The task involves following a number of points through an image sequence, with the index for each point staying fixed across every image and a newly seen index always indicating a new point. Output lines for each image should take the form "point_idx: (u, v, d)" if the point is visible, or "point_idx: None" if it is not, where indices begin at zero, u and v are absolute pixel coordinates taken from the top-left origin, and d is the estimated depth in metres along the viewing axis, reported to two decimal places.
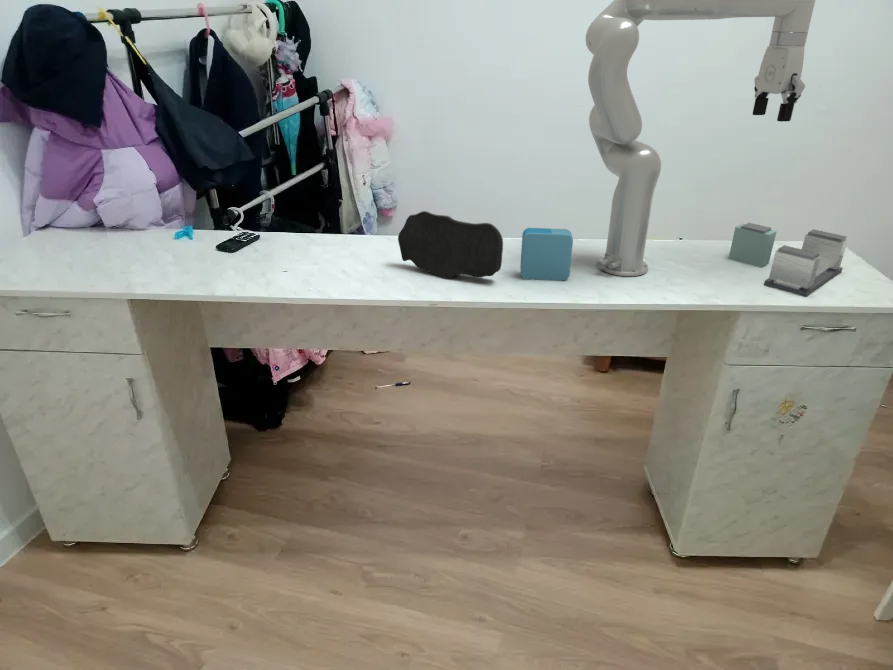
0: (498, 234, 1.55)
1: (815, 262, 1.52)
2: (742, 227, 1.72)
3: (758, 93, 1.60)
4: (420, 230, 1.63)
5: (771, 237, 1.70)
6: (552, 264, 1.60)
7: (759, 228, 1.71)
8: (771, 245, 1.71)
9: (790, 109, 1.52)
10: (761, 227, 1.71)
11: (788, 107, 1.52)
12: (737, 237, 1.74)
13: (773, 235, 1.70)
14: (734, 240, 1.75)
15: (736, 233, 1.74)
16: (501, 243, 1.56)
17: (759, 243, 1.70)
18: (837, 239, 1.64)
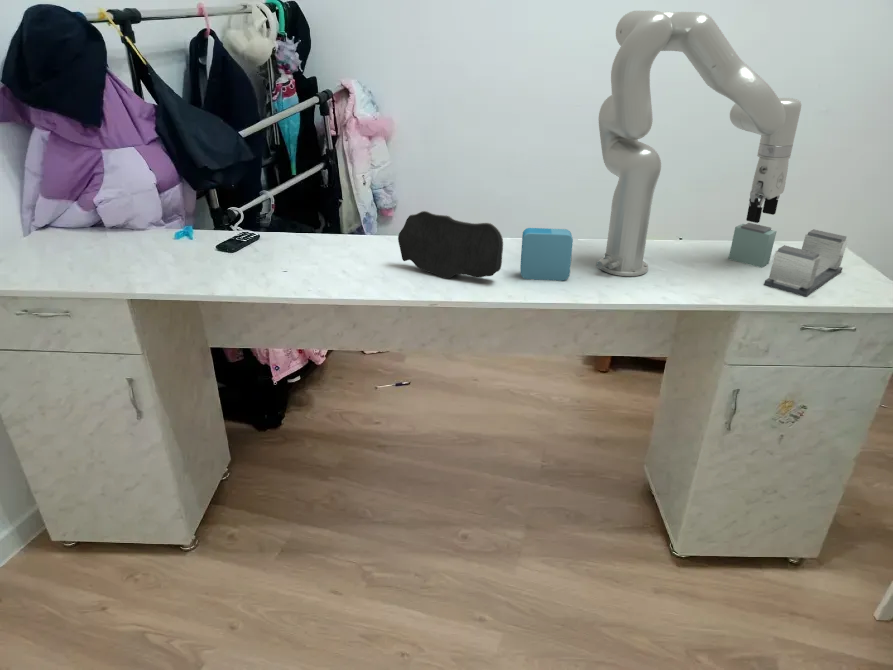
0: (498, 234, 1.55)
1: (815, 262, 1.52)
2: (742, 227, 1.72)
3: (762, 203, 1.65)
4: (420, 230, 1.63)
5: (771, 237, 1.70)
6: (552, 264, 1.60)
7: (759, 228, 1.71)
8: (771, 245, 1.71)
9: None
10: (761, 227, 1.71)
11: None
12: (737, 237, 1.74)
13: (773, 235, 1.70)
14: (734, 240, 1.75)
15: (736, 233, 1.74)
16: (501, 243, 1.56)
17: (759, 243, 1.70)
18: (837, 239, 1.64)
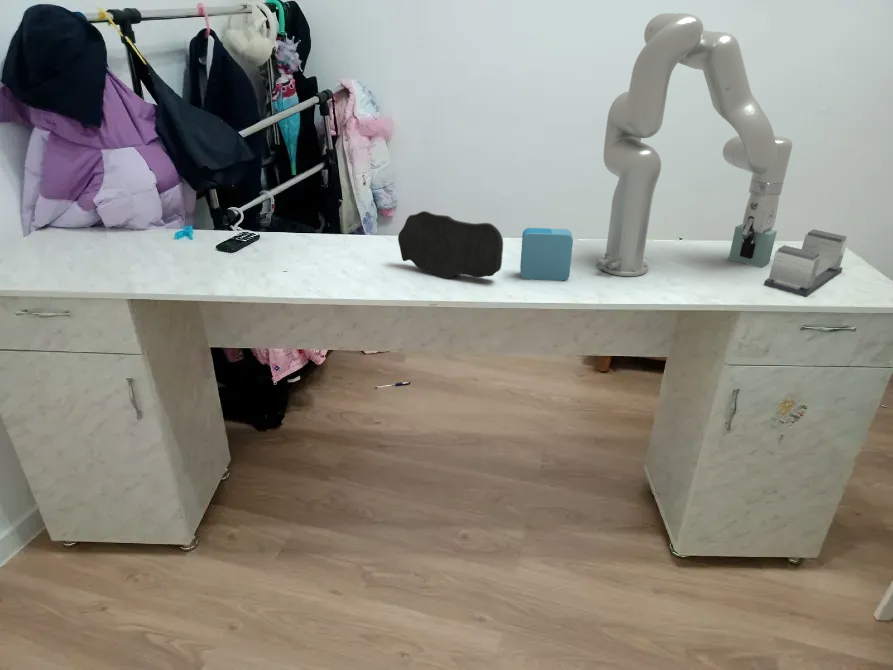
0: (498, 234, 1.55)
1: (815, 262, 1.52)
2: None
3: (754, 239, 1.70)
4: (420, 230, 1.63)
5: (772, 237, 1.70)
6: (552, 264, 1.60)
7: None
8: (771, 245, 1.71)
9: None
10: None
11: None
12: (737, 237, 1.74)
13: (774, 235, 1.70)
14: (734, 239, 1.75)
15: (736, 233, 1.74)
16: (501, 243, 1.56)
17: (759, 243, 1.70)
18: (837, 239, 1.64)
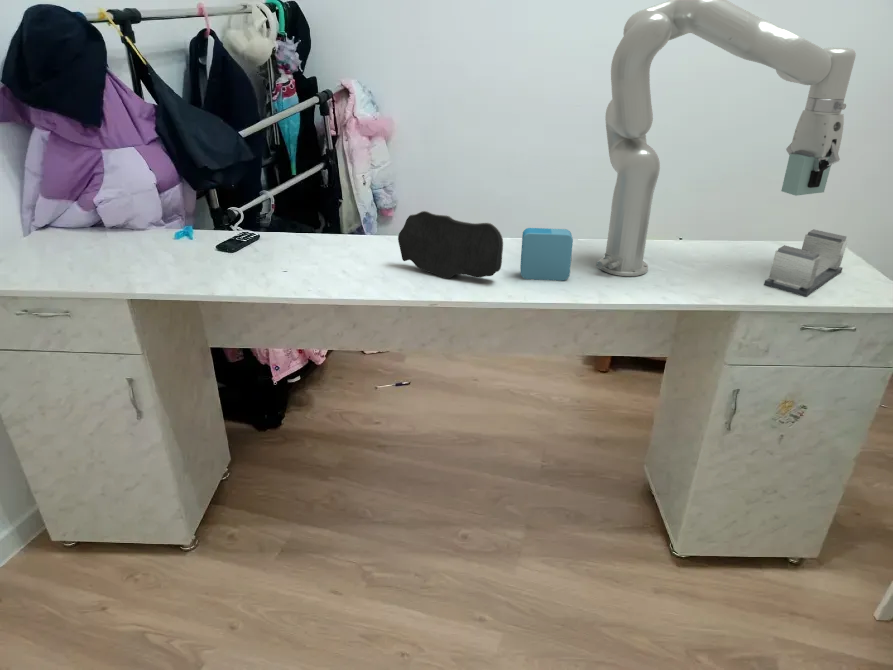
0: (498, 234, 1.55)
1: (815, 262, 1.52)
2: (811, 155, 1.53)
3: None
4: (420, 230, 1.63)
5: None
6: (552, 264, 1.60)
7: None
8: None
9: None
10: None
11: None
12: (805, 169, 1.54)
13: None
14: (802, 172, 1.55)
15: (805, 164, 1.54)
16: (501, 243, 1.56)
17: None
18: (837, 239, 1.64)
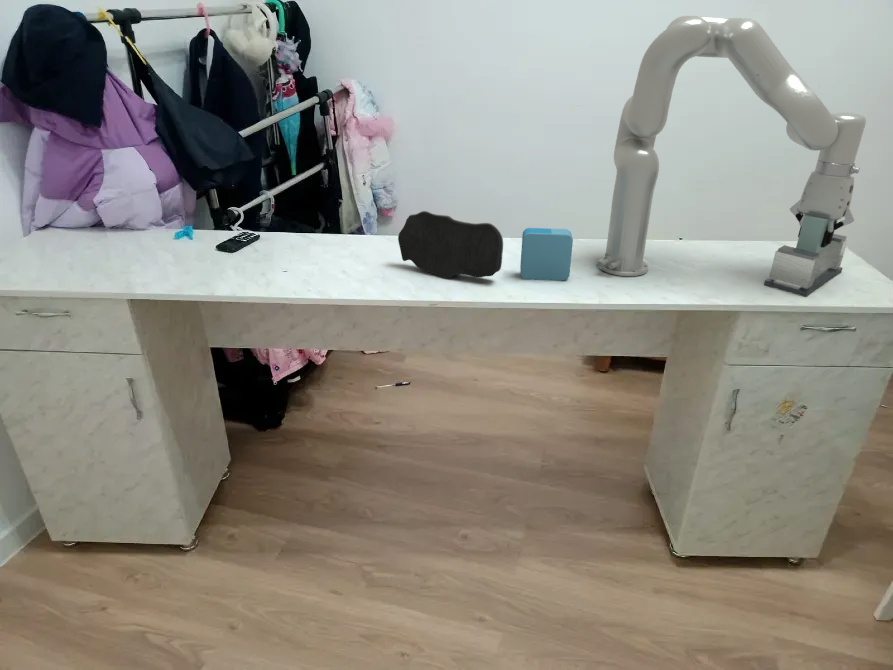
0: (498, 234, 1.55)
1: (815, 262, 1.52)
2: (827, 217, 1.55)
3: None
4: (420, 230, 1.63)
5: None
6: (552, 264, 1.60)
7: None
8: None
9: None
10: None
11: None
12: (822, 230, 1.55)
13: None
14: (820, 234, 1.55)
15: (823, 226, 1.55)
16: (501, 243, 1.56)
17: None
18: (837, 239, 1.64)
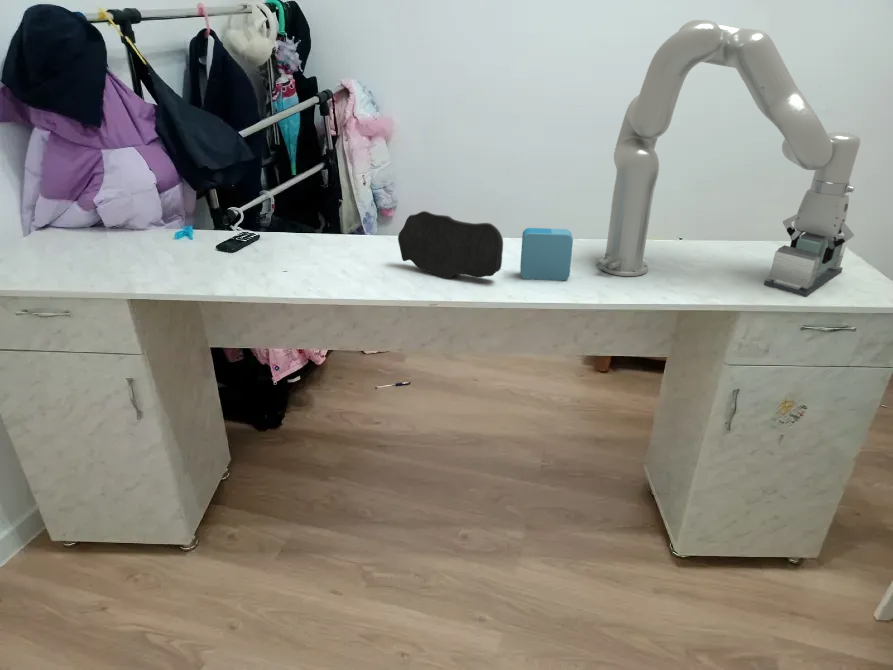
0: (498, 234, 1.55)
1: (815, 262, 1.52)
2: (820, 241, 1.57)
3: None
4: (420, 230, 1.63)
5: None
6: (552, 264, 1.60)
7: None
8: None
9: None
10: None
11: None
12: None
13: None
14: None
15: (816, 249, 1.57)
16: (501, 243, 1.56)
17: (824, 248, 1.62)
18: (837, 239, 1.64)
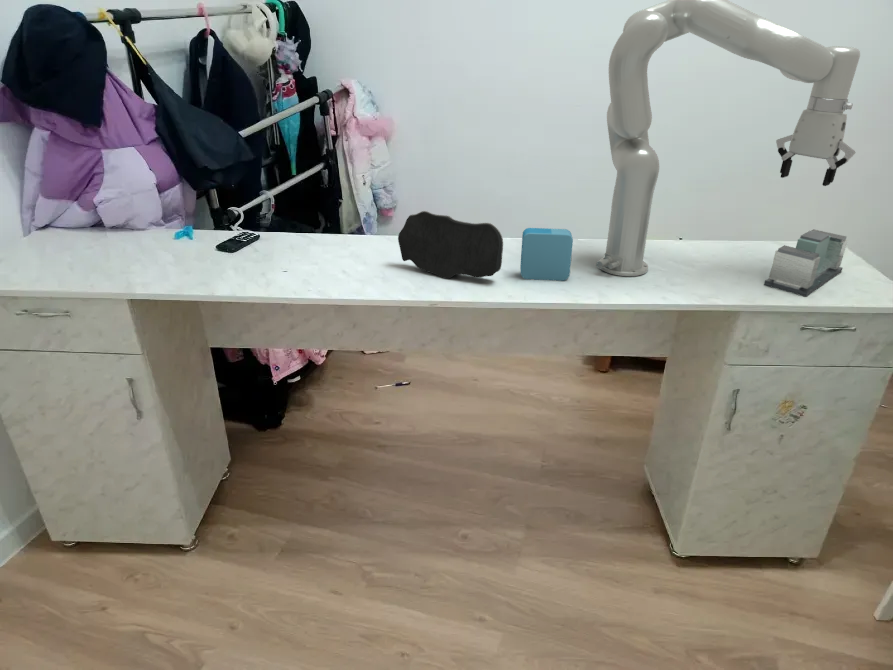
0: (498, 234, 1.55)
1: (815, 262, 1.52)
2: (820, 241, 1.57)
3: None
4: (420, 230, 1.63)
5: None
6: (552, 264, 1.60)
7: (819, 235, 1.60)
8: None
9: None
10: (814, 233, 1.61)
11: None
12: None
13: None
14: None
15: (816, 249, 1.57)
16: (501, 243, 1.56)
17: (824, 248, 1.62)
18: (837, 239, 1.64)
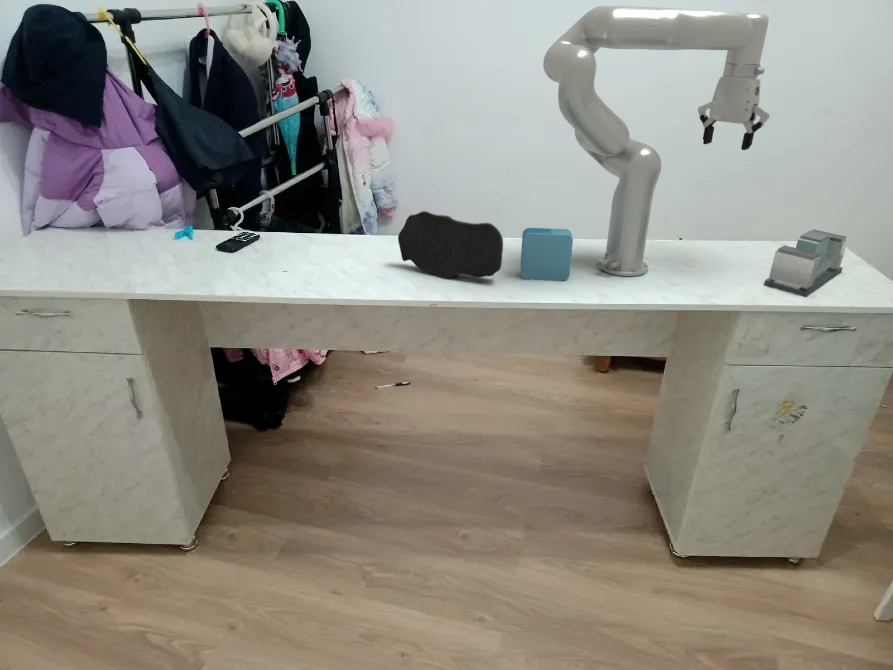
0: (498, 234, 1.55)
1: (815, 262, 1.52)
2: (820, 241, 1.57)
3: None
4: (420, 230, 1.63)
5: None
6: (552, 264, 1.60)
7: (819, 235, 1.60)
8: None
9: None
10: (814, 233, 1.61)
11: None
12: None
13: None
14: None
15: (816, 249, 1.57)
16: (501, 243, 1.56)
17: (824, 248, 1.62)
18: (837, 239, 1.64)
